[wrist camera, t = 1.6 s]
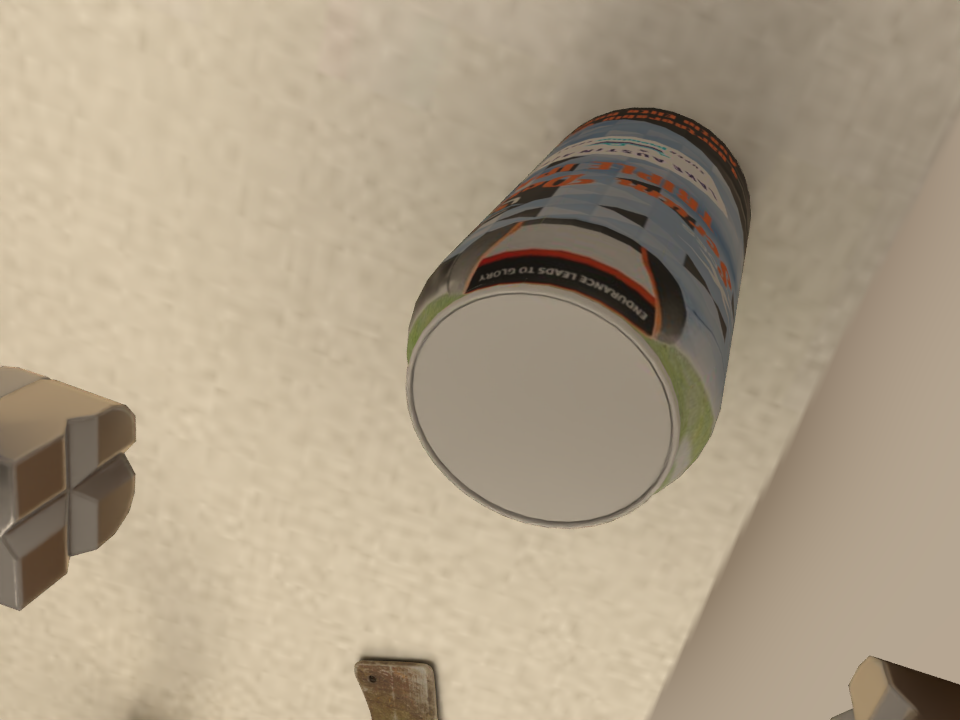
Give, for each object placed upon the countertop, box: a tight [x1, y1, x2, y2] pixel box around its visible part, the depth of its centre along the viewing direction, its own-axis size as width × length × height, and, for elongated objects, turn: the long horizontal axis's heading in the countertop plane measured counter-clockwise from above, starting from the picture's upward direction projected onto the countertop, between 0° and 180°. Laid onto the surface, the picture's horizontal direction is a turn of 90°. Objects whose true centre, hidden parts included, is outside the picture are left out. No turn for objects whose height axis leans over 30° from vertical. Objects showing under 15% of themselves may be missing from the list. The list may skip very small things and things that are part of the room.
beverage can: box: [406, 108, 751, 529], centre depth 18 cm, size 6×7×12 cm
